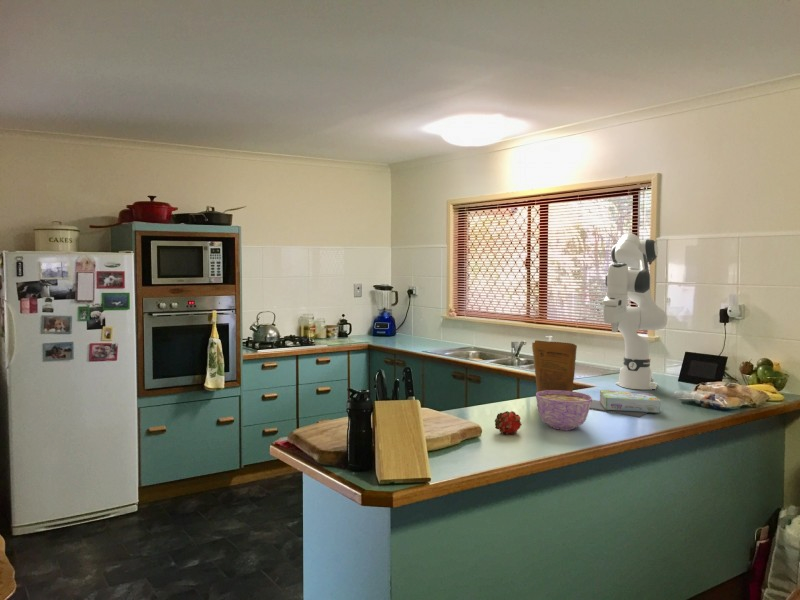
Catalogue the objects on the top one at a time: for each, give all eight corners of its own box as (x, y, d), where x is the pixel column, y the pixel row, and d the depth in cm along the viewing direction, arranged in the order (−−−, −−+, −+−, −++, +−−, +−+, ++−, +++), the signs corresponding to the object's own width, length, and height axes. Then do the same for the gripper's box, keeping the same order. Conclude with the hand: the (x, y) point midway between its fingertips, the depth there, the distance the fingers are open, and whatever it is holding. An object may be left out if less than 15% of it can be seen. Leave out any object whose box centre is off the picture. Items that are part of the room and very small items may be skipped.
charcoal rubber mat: (590, 400, 289) (590, 399, 289) (651, 410, 273) (651, 408, 273) (576, 406, 276) (576, 405, 276) (639, 417, 260) (640, 415, 260)
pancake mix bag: (569, 415, 260) (572, 344, 258) (528, 406, 273) (531, 339, 272) (578, 413, 265) (581, 343, 263) (537, 404, 278) (540, 337, 276)
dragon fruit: (494, 440, 227) (515, 439, 235) (512, 430, 222) (533, 429, 230) (485, 417, 231) (506, 417, 239) (503, 406, 226) (523, 407, 234)
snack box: (651, 391, 279) (661, 400, 264) (650, 405, 280) (660, 414, 265) (599, 389, 282) (606, 397, 267) (599, 402, 282) (605, 411, 268)
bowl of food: (603, 430, 238) (604, 398, 237) (561, 437, 228) (562, 403, 227) (563, 418, 255) (564, 388, 254) (522, 423, 245) (524, 392, 244)
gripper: (616, 297, 297) (615, 328, 299) (601, 301, 281) (599, 333, 282) (631, 299, 294) (629, 330, 295) (616, 302, 277) (614, 335, 279)
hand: (614, 331), depth 289 cm, fingers closed
